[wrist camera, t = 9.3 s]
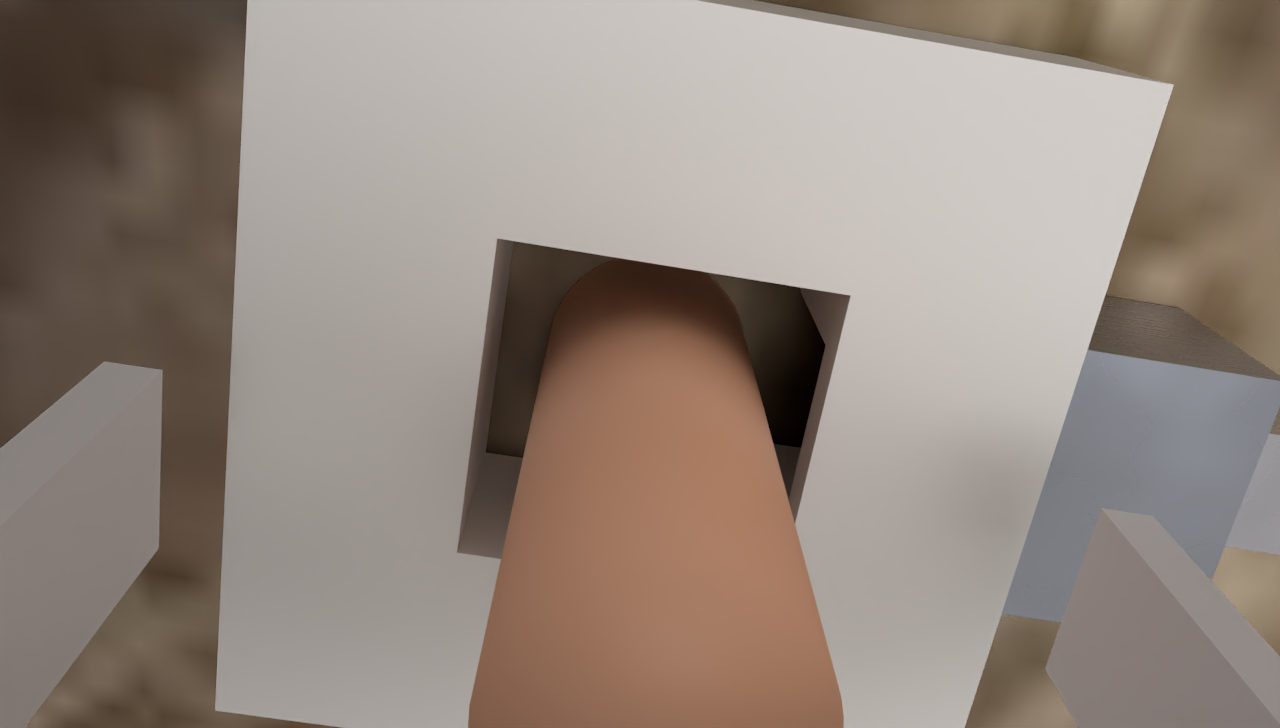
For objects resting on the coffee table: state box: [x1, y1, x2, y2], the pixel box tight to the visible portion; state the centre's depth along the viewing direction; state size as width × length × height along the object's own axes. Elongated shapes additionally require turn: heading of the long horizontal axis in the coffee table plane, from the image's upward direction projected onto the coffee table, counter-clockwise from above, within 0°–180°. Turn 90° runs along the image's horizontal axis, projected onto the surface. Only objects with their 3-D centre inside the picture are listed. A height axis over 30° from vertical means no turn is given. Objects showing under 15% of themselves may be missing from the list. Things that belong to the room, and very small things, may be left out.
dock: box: [215, 0, 1174, 728], centre depth 21 cm, size 14×14×4 cm
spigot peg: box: [468, 258, 844, 728], centre depth 18 cm, size 4×4×12 cm
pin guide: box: [1002, 296, 1280, 622], centre depth 22 cm, size 4×5×4 cm
